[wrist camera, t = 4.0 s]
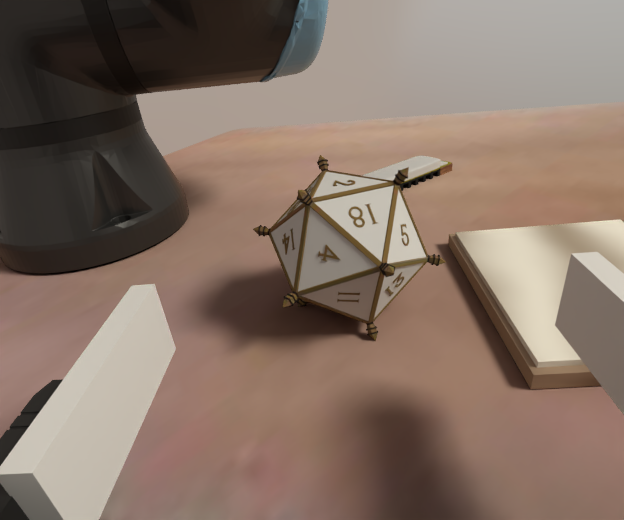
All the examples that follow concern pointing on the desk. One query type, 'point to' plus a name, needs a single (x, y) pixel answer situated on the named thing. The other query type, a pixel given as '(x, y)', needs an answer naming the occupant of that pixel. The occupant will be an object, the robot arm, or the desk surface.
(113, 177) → the robot arm
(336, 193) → the game die
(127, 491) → the desk surface
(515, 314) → the board
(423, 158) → the harmonica
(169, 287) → the desk surface
